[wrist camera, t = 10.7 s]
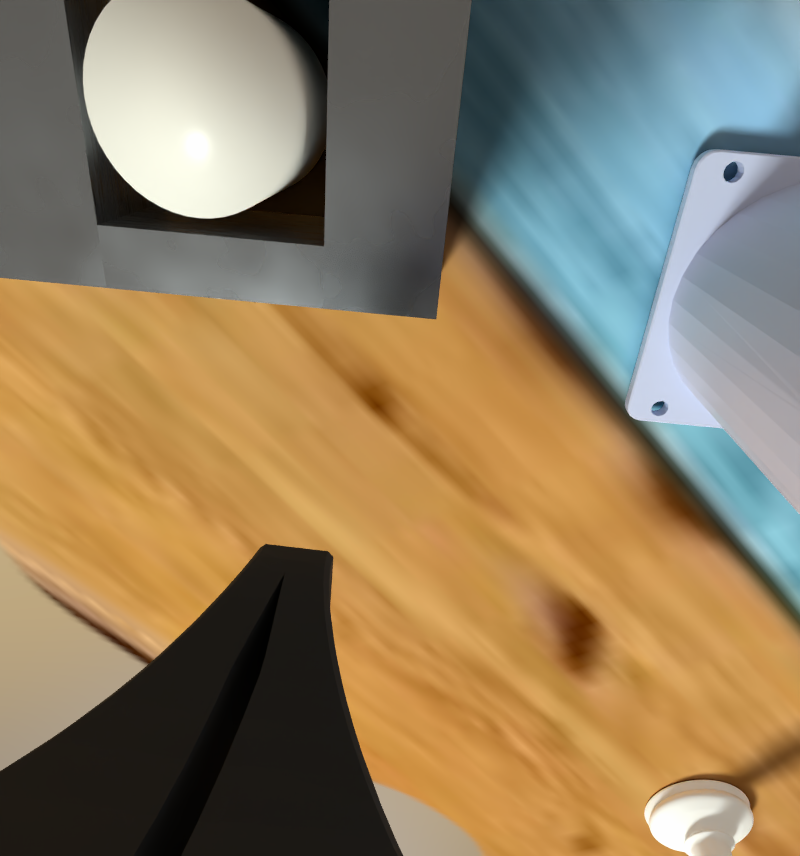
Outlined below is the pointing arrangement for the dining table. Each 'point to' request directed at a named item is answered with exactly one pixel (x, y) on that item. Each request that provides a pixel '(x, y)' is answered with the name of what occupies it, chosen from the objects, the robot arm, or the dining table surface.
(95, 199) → the knob mount
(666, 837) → the chess piece
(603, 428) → the dining table surface
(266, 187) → the knob
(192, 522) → the dining table surface
